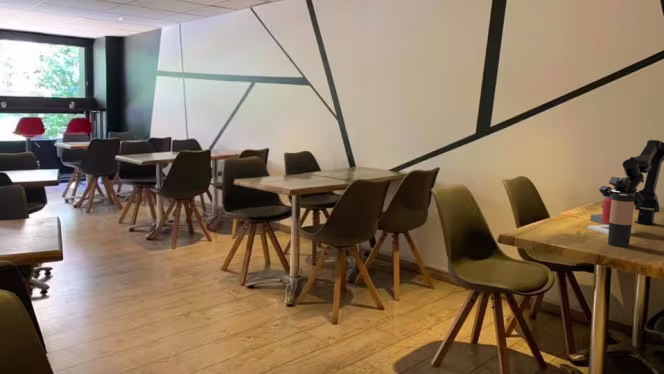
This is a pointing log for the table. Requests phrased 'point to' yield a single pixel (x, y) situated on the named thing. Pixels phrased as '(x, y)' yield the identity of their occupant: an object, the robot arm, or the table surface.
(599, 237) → the table surface
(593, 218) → the grey square frame
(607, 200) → the beer can
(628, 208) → the travel mug
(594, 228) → the paper card
